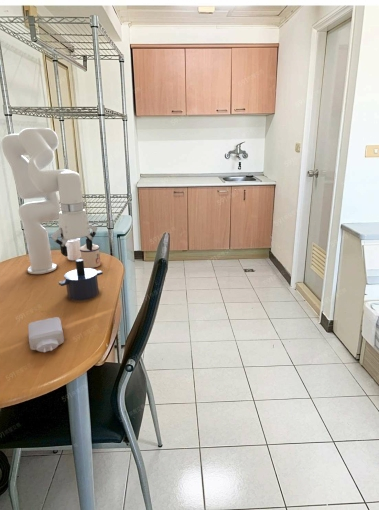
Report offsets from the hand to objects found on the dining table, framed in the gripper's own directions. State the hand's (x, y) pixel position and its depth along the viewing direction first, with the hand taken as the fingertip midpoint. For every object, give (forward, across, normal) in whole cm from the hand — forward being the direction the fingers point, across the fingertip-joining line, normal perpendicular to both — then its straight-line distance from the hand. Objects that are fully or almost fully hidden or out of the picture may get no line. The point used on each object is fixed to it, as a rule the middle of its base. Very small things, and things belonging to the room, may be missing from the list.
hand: (77, 252), depth 129 cm
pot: (+17, 0, +1) cm, 17 cm away
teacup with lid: (+18, -19, -29) cm, 39 cm away
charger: (+17, +24, +25) cm, 39 cm away
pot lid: (+9, 0, +1) cm, 9 cm away
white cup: (+19, -17, -44) cm, 51 cm away
